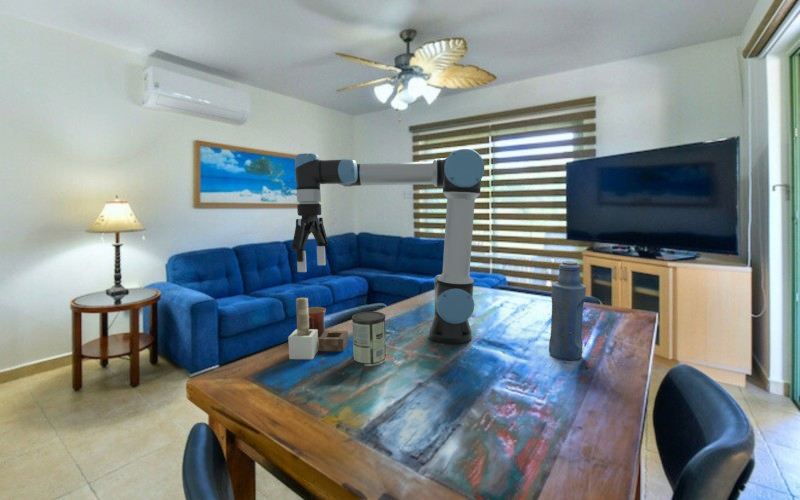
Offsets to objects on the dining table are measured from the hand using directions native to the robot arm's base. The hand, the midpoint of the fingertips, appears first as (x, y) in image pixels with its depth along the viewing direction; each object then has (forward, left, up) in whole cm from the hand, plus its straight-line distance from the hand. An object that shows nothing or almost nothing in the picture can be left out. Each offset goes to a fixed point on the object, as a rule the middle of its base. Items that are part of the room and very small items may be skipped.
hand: (312, 268), depth 124 cm
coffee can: (-19, +8, -28) cm, 35 cm away
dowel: (+2, +7, -27) cm, 27 cm away
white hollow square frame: (+2, +7, -28) cm, 28 cm away
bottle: (-81, +3, -28) cm, 86 cm away
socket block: (-6, 0, -28) cm, 28 cm away
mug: (+4, -10, -28) cm, 30 cm away
